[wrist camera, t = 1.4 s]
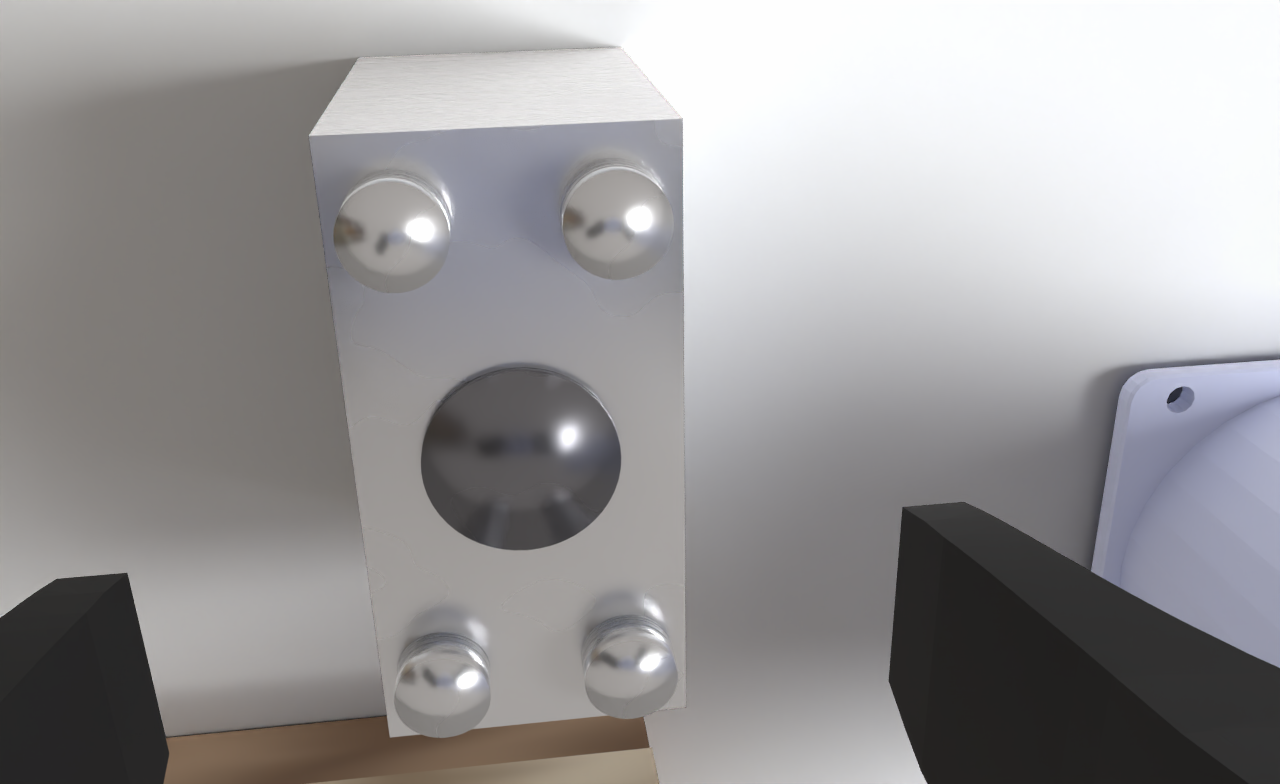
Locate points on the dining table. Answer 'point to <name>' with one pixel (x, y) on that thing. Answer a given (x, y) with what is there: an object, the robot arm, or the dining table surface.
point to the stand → (418, 754)
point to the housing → (512, 379)
